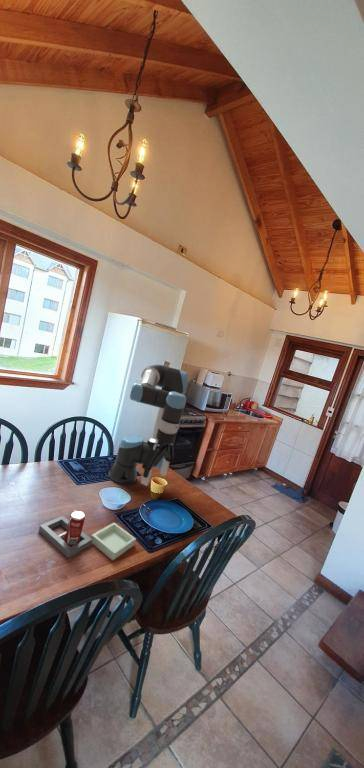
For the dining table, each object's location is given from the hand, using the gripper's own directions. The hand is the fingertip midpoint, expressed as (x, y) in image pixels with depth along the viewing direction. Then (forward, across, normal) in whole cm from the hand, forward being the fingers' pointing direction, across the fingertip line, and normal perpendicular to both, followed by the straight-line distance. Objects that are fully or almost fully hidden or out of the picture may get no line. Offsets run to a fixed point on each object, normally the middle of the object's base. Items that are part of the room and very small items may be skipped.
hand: (153, 479), depth 125 cm
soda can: (+24, -26, +12) cm, 37 cm away
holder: (+24, -25, +16) cm, 38 cm away
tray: (+24, -14, +2) cm, 28 cm away
